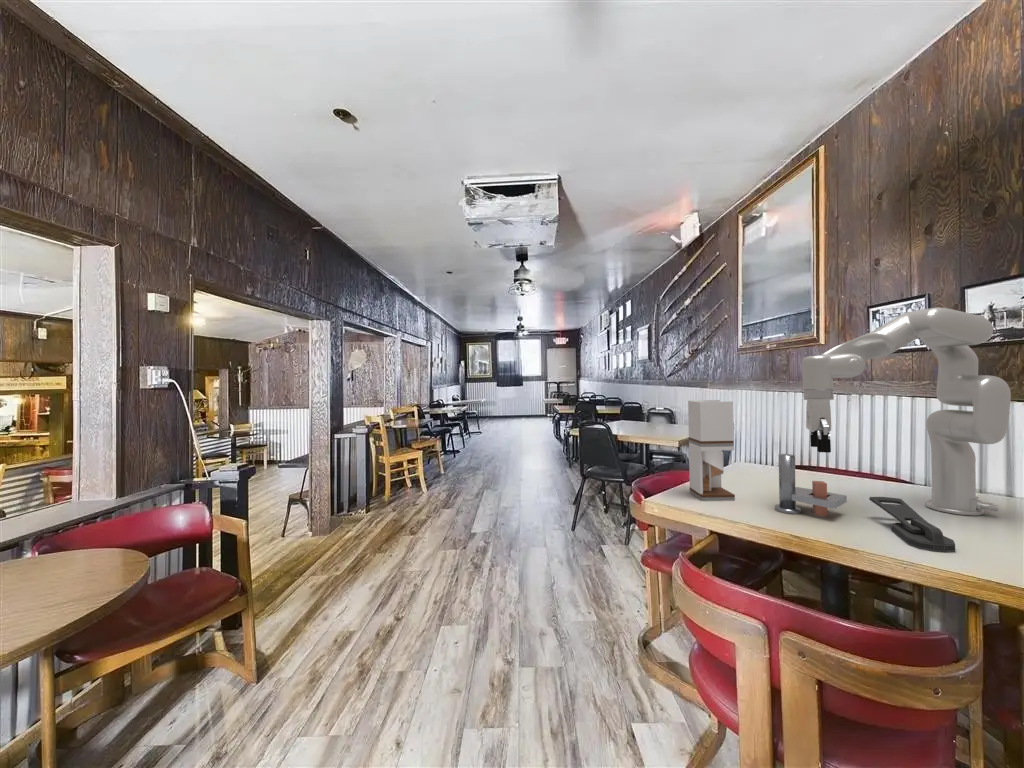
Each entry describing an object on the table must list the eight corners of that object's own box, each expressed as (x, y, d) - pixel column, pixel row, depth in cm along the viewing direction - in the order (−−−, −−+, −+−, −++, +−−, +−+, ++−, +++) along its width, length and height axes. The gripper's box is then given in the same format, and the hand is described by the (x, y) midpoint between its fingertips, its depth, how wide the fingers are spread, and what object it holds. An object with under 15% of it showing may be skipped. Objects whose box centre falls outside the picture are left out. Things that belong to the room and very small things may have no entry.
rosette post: (846, 514, 126) (845, 457, 126) (832, 524, 118) (831, 462, 118) (787, 502, 139) (786, 450, 139) (770, 510, 132) (769, 455, 132)
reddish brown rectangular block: (812, 511, 129) (812, 480, 129) (824, 512, 128) (823, 481, 128) (815, 514, 126) (815, 483, 126) (827, 515, 125) (826, 483, 125)
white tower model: (701, 500, 143) (700, 402, 143) (689, 492, 154) (688, 400, 154) (734, 500, 143) (733, 401, 142) (720, 492, 153) (718, 399, 153)
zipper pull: (902, 497, 121) (963, 527, 97) (902, 519, 121) (963, 554, 97) (865, 495, 124) (915, 523, 100) (865, 517, 124) (916, 550, 100)
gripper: (798, 393, 136) (800, 444, 136) (809, 396, 121) (811, 454, 121) (826, 393, 133) (828, 445, 133) (841, 396, 117) (843, 455, 118)
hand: (820, 449), depth 127 cm, fingers open, 9 cm apart
